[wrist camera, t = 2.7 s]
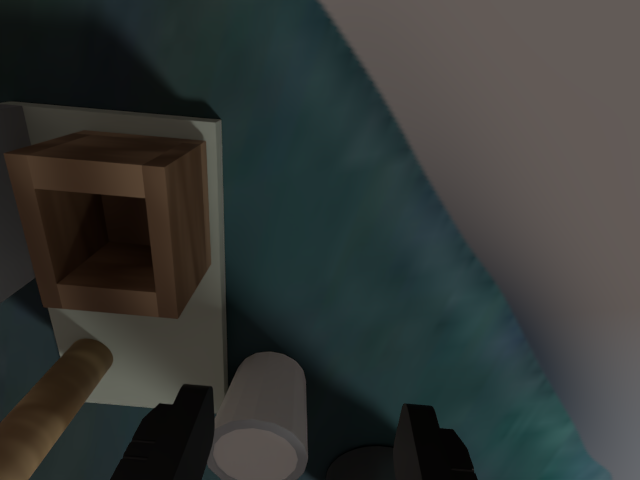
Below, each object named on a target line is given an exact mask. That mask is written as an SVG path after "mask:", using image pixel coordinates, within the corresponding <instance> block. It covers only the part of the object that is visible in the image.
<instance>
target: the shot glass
mask: <svg viewBox="0 0 640 480" xmlns="http://www.w3.org/2000/svg"><path fill="white" fill-rule="evenodd" d="M307 461H308V438H307V403H306V379H305V375H304V371H303V369H302V368H301V367H300V365H299V364H298V363H297V362H296V361H295V360H293V359H292V358H290V357H288V356H286V355H285V354H281V353H276V352H271V351H269V352H260V353H255V354H253V355H251V356H249V357H247V358H245V359H244V361H243V362H242V363H241V364H240V366H239V367H238V369H237V371H236V373H235V375H234V378H233V380H232V382H231V384H230V386H229V389H228V391H227V393H226V395H225V397H224V400H223V402H222V404H221V406H220V408H219V411H218V413H217V415H216V417H215V431H214V438H213V444H212V448H211V451H210V455H209V458H208V461H207V465H208V467H209V468H210V469H211V470H212V471H213V472H214V473H215V474H216V475H217V476H218V477H219V478H221V479H222V480H297V479H298V478H299V477H300V476H301V475H302V474H303V473H304V471H305V468H306V465H307Z"/></svg>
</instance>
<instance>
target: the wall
mask: <svg viewBox="0 0 640 480" xmlns="http://www.w3.org/2000/svg"><path fill="white" fill-rule="evenodd" d="M30 145H31V142H30V138H29V133H28V129H27V124H26V120H25V116H24V111H23V107H22V106H19V105H8V104H0V303H1V302H3V301H4V300H6V299H7V298H8V297H10V296H11V295H12V294H14V293H15V292H16V291H18V290H19V289H21V288H22V287H23V286H25V285H26V284H27V283H29V282H30V281H32V280H33V279H34V278H36V277H35V273H34V270H33V266H32V262H31V258H30V254H29V250H28V246H27V243H26V239H25V235H24V231H23V227H22V223H21V220H20V216H19V212H18V208H17V204H16V200H15V197H14V193H13V189H12V185H11V181H10V177H9V173H8V170H7V166H6V162H5V158H4V154H3V153H6V152H9V151H13V150H16V149H20V148H23V147H27V146H30Z"/></svg>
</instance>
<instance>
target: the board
mask: <svg viewBox="0 0 640 480" xmlns="http://www.w3.org/2000/svg"><path fill="white" fill-rule="evenodd" d="M0 104H8V105H19V106H22V107H23V111H24V116H25V120H26V124H27V129H28V133H29V138H30V142H31V145H34V144H37V143H41V142H44V141H48V140H51V139H55V138H58V137H61V136H65V135H68V134H72V133H75V132H79V131H82V130H89V131H100V132H111V133H123V134H134V135H146V136H157V137H169V138H180V139H191V140H203V141H206V151H207V174H208V198H209V222H210V245H211V265H210V267H209V269H208V270H207V272H206V274H205V275H204V277H203V279H202V280H201V282H200V283H199V285H198V287H197V288H196V290H195V292H194V293H193V295H192V297H191V298H190V300H189V302H188V303H187V305H186V307H185V308H184V310H183V312H182V313H181V315H180V317H179V318H178V319H172V318H161V317H149V316H138V315H126V314H115V313H103V312H92V311H81V310H69V309H58V308H48V310H49V314H50V318H51V322H52V326H53V330H54V334H55V338H56V342H57V346H58V350H59V354H60V357H61V356H62V355H63V354H64V353H65V352H66V351H67V350H68V349H69V348H70V346H71V345H72V344H73V343H74V342H75V341H77V340H79V339H85V338H87V339H94V340H97V341H99V342H101V343H103V344H104V345H105V346H107V347H108V348H109V350H110V351H111V353H112V355H113V364H112V365H111V367H110V368H109V370H108V371H107V372H106V374H105V375H104V376H103V378H102V379H101V381H100V382H99V383H98V385H97V386H96V387H95V389H94V390H93V392H92V393H91V394H90V396H89V397H88V398H87V400H86V401H85V402H91V403H103V404H114V405H126V406H137V407H148V408H155V407H156V406H157V405H158V404H159V403H163V404H173V403H174V401H175V399H176V396H177V394H178V392H179V390H180V388H181V387H182V385H183V384H193V385H205V386H212V388H213V398H214V413H218V411H219V408H220V406H221V404H222V402H223V400H224V397H225V395H226V393H227V391H228V362H227V323H226V284H225V245H224V206H223V166H222V127H221V120H219V119H208V118H196V117H185V116H174V115H162V114H151V113H139V112H128V111H116V110H105V109H93V108H82V107H71V106H59V105H48V104H36V103H25V102H13V101H11V102H3V103H0Z"/></svg>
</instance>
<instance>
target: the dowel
mask: <svg viewBox="0 0 640 480" xmlns="http://www.w3.org/2000/svg"><path fill="white" fill-rule="evenodd" d="M112 364H113V355H112V353H111V351H110V350H109V348H108V347H107V346H105V345H104V344H103V343H101V342H99V341H97V340H94V339H87V338H85V339H79V340H77V341H75V342H74V343H73V344H72V345H71V346H70V348H69V349H68V350H67V351H66V352H65V353H64V354H63V355H62V356H61V357H60V358H59V360H58V361H57V362H56V363H55V364H54V365H53V366H52V367H51V368H50V369H49V370H48V372H47V373H46V374H45V375H44V376H43V377H42V378H41V379H40V380H39V381H38V382H37V383H36V385H35V386H34V387H33V388H32V389H31V390H30V391H29V392H28V393H27V394H26V395H25V397H24V398H23V399H22V400H21V401H20V402H19V403H18V404H17V405H16V406H15V407H14V409H13V410H12V411H11V412H10V413H9V414H8V415H7V416H6V417H5V418H4V419H3V420H2V422H1V423H0V480H28V479H29V478H30V477H31V475H32V474H33V472H34V471H35V470H36V468H37V467H38V466H39V464H40V463H41V462H42V460H43V459H44V457H45V456H46V455H47V453H48V452H49V451H50V449H51V448H52V446H53V445H54V444H55V442H56V441H57V440H58V438H59V437H60V435H61V434H62V433H63V431H64V430H65V429H66V427H67V426H68V424H69V423H70V422H71V420H72V419H73V418H74V416H75V415H76V413H77V412H78V411H79V409H80V408H81V407H82V405H83V404H84V402H85V401H86V400H87V398H88V397H89V396H90V394H91V393H92V392H93V390H94V389H95V387H96V386H97V385H98V383H99V382H100V381H101V379H102V378H103V376H104V375H105V374H106V372H107V371H108V370H109V368H110V367H111V365H112Z"/></svg>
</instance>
